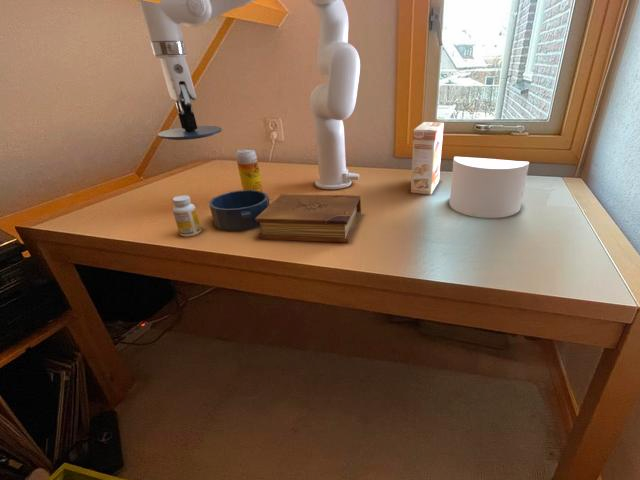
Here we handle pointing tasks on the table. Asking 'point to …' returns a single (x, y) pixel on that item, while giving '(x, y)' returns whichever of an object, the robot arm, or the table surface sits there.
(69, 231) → the table surface
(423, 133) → the coffeecake box
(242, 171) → the beer can
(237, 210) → the pan
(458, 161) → the container
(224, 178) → the table surface
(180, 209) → the supplement bottle
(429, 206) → the table surface
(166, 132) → the pan lid
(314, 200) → the diary
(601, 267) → the table surface
